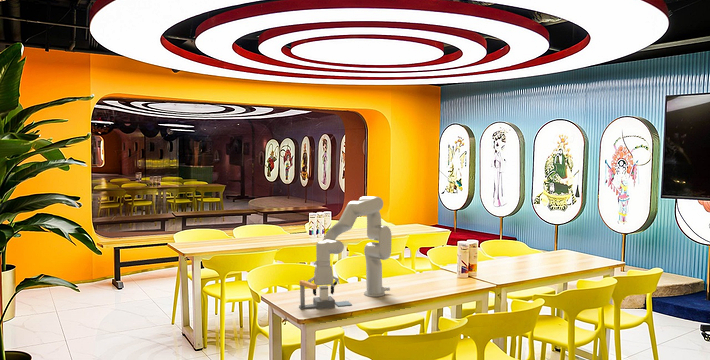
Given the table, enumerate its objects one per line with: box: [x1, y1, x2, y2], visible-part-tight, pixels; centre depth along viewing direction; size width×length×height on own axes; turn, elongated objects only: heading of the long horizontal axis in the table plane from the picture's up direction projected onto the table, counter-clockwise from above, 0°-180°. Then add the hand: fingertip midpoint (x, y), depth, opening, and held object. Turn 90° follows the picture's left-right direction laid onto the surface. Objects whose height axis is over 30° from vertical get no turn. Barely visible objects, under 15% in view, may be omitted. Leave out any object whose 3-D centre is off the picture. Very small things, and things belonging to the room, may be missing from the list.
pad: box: [335, 300, 353, 308], centre depth 282 cm, size 8×8×1 cm
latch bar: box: [299, 279, 318, 290], centre depth 271 cm, size 16×3×2 cm, turn 35°
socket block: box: [298, 284, 336, 310], centre depth 278 cm, size 18×10×13 cm, turn 107°
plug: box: [318, 285, 329, 300], centre depth 279 cm, size 4×4×11 cm
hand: (323, 294), depth 279 cm, fingers open, 9 cm apart
